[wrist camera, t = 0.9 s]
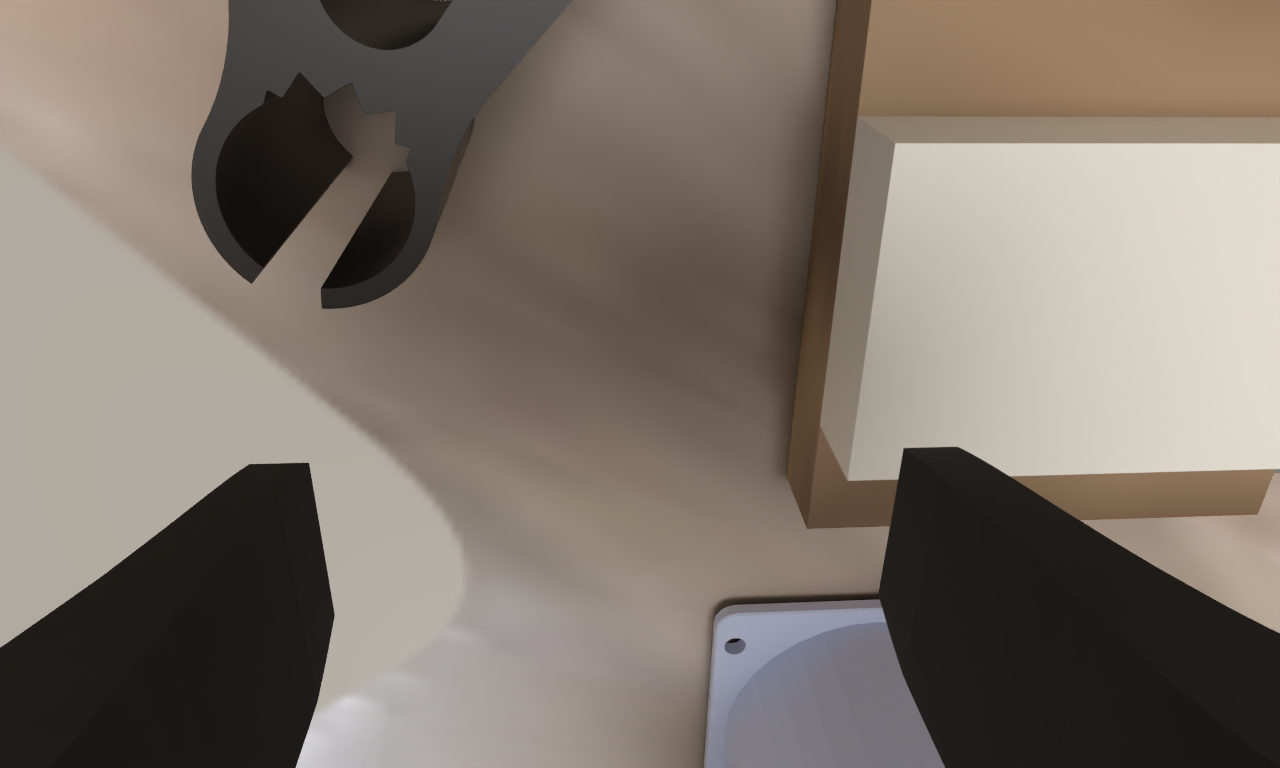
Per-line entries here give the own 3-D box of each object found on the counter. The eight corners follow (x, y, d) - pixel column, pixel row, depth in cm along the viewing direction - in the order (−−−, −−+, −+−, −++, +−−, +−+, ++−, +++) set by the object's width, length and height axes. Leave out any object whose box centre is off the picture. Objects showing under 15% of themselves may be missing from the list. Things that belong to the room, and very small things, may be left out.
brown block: (1201, 465, 22) (1257, 514, 20) (786, 476, 21) (807, 528, 20) (1378, -45, 17) (1472, -38, 15) (843, -53, 16) (877, -47, 15)
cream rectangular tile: (1250, 415, 19) (1321, 467, 17) (820, 425, 19) (847, 481, 17) (1358, 117, 16) (1454, 143, 15) (857, 116, 16) (895, 143, 14)
